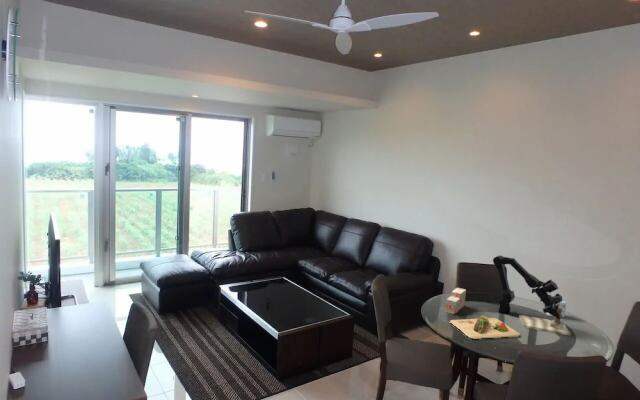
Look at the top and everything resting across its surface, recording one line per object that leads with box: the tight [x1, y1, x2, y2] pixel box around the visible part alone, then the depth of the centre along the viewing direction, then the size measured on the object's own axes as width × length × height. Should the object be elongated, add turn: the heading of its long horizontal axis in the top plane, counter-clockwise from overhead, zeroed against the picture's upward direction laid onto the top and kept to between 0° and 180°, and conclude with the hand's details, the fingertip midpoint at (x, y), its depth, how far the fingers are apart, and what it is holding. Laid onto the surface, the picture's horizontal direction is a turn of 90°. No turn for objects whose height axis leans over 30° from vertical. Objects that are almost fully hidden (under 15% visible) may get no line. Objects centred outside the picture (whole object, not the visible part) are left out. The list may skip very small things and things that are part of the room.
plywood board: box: [518, 314, 572, 337], centre depth 250 cm, size 26×17×2 cm, turn 72°
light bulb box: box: [545, 299, 567, 318], centre depth 268 cm, size 11×7×11 cm, turn 84°
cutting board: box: [449, 315, 521, 340], centre depth 239 cm, size 35×23×8 cm
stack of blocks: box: [445, 287, 467, 315], centre depth 268 cm, size 21×6×12 cm, turn 142°
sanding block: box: [550, 308, 565, 330], centre depth 245 cm, size 6×7×12 cm
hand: (560, 318), depth 244 cm, fingers closed on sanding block, 4 cm apart
